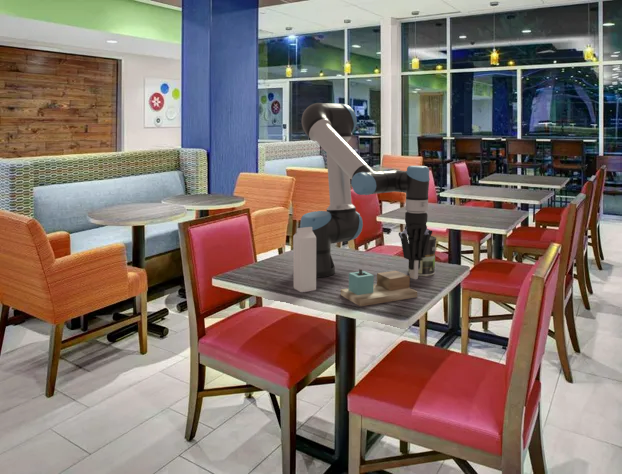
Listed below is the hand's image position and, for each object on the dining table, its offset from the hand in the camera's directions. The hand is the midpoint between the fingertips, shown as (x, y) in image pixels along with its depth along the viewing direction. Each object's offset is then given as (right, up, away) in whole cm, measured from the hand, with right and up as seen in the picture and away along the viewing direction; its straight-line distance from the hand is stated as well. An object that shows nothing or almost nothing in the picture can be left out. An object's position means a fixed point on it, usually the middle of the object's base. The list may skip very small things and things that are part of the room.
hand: (413, 278), depth 191 cm
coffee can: (+7, 0, +21) cm, 22 cm away
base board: (-13, -6, -8) cm, 16 cm away
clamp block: (-8, -2, -3) cm, 9 cm away
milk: (-38, -4, 0) cm, 38 cm away
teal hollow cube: (-19, -4, -9) cm, 22 cm away
